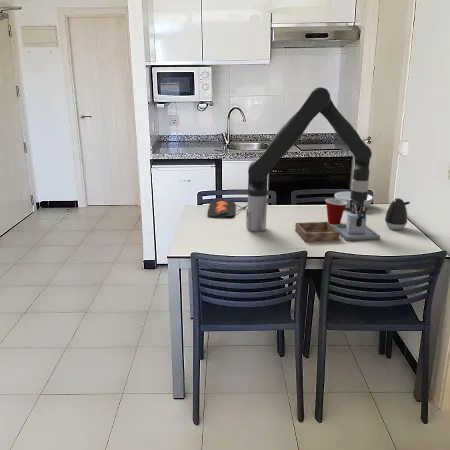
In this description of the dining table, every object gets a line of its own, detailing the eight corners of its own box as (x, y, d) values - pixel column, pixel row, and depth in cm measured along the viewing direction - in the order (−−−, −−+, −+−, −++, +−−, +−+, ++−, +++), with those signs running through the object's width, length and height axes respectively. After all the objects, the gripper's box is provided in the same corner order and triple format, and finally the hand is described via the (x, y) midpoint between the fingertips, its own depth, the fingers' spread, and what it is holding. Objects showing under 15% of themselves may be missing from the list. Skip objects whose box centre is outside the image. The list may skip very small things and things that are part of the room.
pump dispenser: (402, 233, 221) (406, 202, 216) (381, 228, 227) (384, 198, 222) (409, 227, 228) (413, 198, 224) (388, 223, 234) (391, 194, 230)
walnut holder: (304, 242, 208) (305, 233, 207) (295, 230, 223) (295, 222, 222) (339, 240, 210) (339, 232, 209) (327, 229, 225) (327, 221, 224)
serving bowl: (358, 214, 250) (359, 202, 248) (326, 206, 264) (327, 195, 262) (378, 207, 263) (380, 196, 261) (347, 200, 278) (348, 189, 276)
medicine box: (361, 230, 221) (363, 213, 218) (365, 233, 217) (367, 216, 214) (345, 230, 221) (347, 213, 218) (348, 234, 216) (350, 216, 214)
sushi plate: (210, 204, 270) (210, 197, 269) (261, 205, 269) (262, 198, 268) (206, 219, 242) (206, 212, 241) (264, 220, 241) (264, 213, 240)
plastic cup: (345, 227, 228) (348, 204, 225) (323, 226, 230) (325, 202, 227) (345, 221, 239) (347, 198, 235) (323, 219, 241) (325, 197, 237)
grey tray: (346, 241, 209) (346, 237, 209) (332, 228, 226) (332, 224, 226) (379, 239, 211) (380, 235, 211) (363, 227, 228) (364, 223, 228)
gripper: (345, 185, 219) (342, 220, 224) (358, 193, 205) (354, 229, 210) (361, 185, 219) (357, 219, 225) (374, 192, 206) (370, 228, 211)
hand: (356, 224), depth 217 cm, fingers open, 5 cm apart
